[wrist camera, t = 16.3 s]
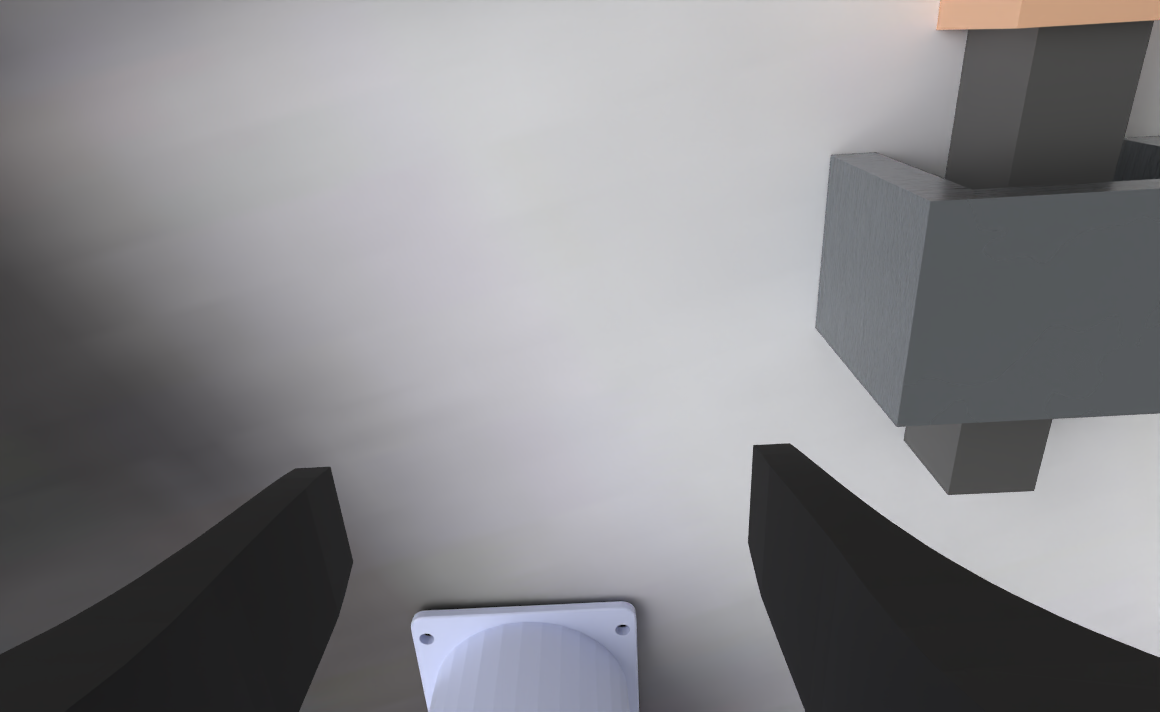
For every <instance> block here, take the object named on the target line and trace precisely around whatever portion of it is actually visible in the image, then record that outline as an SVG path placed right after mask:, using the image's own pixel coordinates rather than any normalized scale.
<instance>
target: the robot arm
mask: <svg viewBox="0 0 1160 712" xmlns="http://www.w3.org/2000/svg"><path fill="white" fill-rule="evenodd" d="M748 544H749V549H750V553H751V557H752V561H753V566H754V570H755V574H756V578H757V582H758V586H759V590H760V594H761V597H762V600H763V602H764V605H765V608H766V611H767V613H768V616H769V618H770V621H771V624H772V626H773V629H774V632H775V634H776V637H777V639H778V642H779V645H780V647H781V650H782V652H783V655H784V657H785V660H786V663H787V665H788V668H789V670H790V673H791V675H792V678H793V681H794V683H795V686H796V688H797V691H798V694H799V696H800V699H801V701H802V704H803V706H804V709H805V712H1160V657H1157V656H1154V655H1152V654H1149V653H1146V652H1144V651H1141V650H1139V649H1136V648H1134V647H1131V646H1129V645H1126V644H1124V643H1121V642H1119V641H1116V640H1114V639H1111V638H1109V637H1106V636H1104V635H1101V634H1099V633H1096V632H1094V631H1092V630H1089V629H1087V628H1085V627H1082V626H1080V625H1078V624H1076V623H1073V622H1071V621H1069V620H1066V619H1064V618H1062V617H1060V616H1057V615H1055V614H1053V613H1051V612H1049V611H1047V610H1045V609H1043V608H1041V607H1039V606H1036V605H1034V604H1032V603H1030V602H1028V601H1026V600H1024V599H1022V598H1020V597H1018V596H1016V595H1014V594H1011V593H1010V592H1008V591H1006V590H1004V589H1002V588H1000V587H998V586H996V585H994V584H992V583H990V582H988V581H987V580H985V579H983V578H981V577H979V576H978V575H976V574H974V573H972V572H971V571H969V570H967V569H965V568H964V567H962V566H960V565H958V564H957V563H955V562H953V561H951V560H950V559H948V558H946V557H944V556H943V555H941V554H940V553H938V552H936V551H935V550H933V549H931V548H930V547H928V546H927V545H925V544H924V543H922V542H921V541H919V540H918V539H916V538H915V537H913V536H912V535H910V534H909V533H907V532H906V531H904V530H903V529H901V528H900V527H898V526H897V525H895V524H894V523H892V522H891V521H890V520H888V519H887V518H885V517H884V516H883V515H881V514H880V513H878V512H877V511H876V510H874V509H873V508H872V507H870V506H869V505H867V504H866V503H865V502H863V501H862V500H861V499H860V498H858V497H857V496H856V495H854V494H853V493H852V492H850V491H849V490H848V489H847V488H845V487H844V486H843V485H841V484H840V483H839V482H838V481H836V480H835V479H834V478H833V477H831V476H830V475H829V474H828V473H826V472H825V471H824V470H823V469H821V468H820V467H819V466H818V465H817V464H815V463H814V462H813V461H812V460H810V459H809V458H808V457H807V456H805V455H804V454H803V453H802V452H800V451H799V450H798V449H797V448H795V447H794V446H792V445H791V444H790V443H789V444H769V445H753V461H752V480H751V498H750V517H749V535H748ZM352 564H353V559H352V555H351V551H350V547H349V542H348V538H347V534H346V530H345V526H344V522H343V517H342V513H341V509H340V505H339V501H338V497H337V492H336V488H335V484H334V480H333V476H332V472H331V467H317V468H297V469H294V470H292V471H290V472H289V473H287V474H286V475H284V476H282V477H281V478H280V479H278V480H277V481H275V482H274V483H272V484H271V485H270V486H268V487H267V488H265V489H264V490H263V491H261V492H260V493H258V494H257V495H256V496H254V497H253V498H252V499H250V500H249V501H248V502H246V503H245V504H244V505H242V506H241V507H239V508H238V509H237V510H235V511H234V512H233V513H231V514H230V515H229V516H227V517H226V518H224V519H223V520H222V521H220V522H219V523H218V524H216V525H215V526H213V527H212V528H211V529H209V530H208V531H207V532H205V533H204V534H203V535H201V536H200V537H198V538H197V539H196V540H194V541H193V542H191V543H190V544H188V545H187V546H185V547H184V548H182V549H181V550H179V551H178V552H176V553H175V554H173V555H172V556H170V557H169V558H167V559H166V560H164V561H163V562H162V563H160V564H159V565H157V566H156V567H154V568H153V569H151V570H150V571H148V572H147V573H145V574H144V575H142V576H141V577H139V578H138V579H136V580H135V581H133V582H131V583H130V584H128V585H127V586H125V587H123V588H122V589H120V590H118V591H117V592H115V593H114V594H112V595H110V596H109V597H107V598H105V599H103V600H102V601H100V602H98V603H97V604H95V605H93V606H91V607H90V608H88V609H86V610H84V611H83V612H81V613H79V614H77V615H76V616H74V617H72V618H70V619H69V620H67V621H65V622H63V623H61V624H59V625H58V626H56V627H54V628H52V629H50V630H48V631H46V632H44V633H42V634H40V635H38V636H36V637H34V638H32V639H30V640H28V641H26V642H24V643H22V644H20V645H18V646H16V647H14V648H12V649H10V650H8V651H6V652H4V653H2V654H0V712H299V710H300V708H301V705H302V703H303V701H304V698H305V696H306V693H307V691H308V689H309V686H310V684H311V682H312V679H313V677H314V675H315V672H316V670H317V668H318V665H319V663H320V661H321V658H322V656H323V653H324V651H325V648H326V646H327V644H328V641H329V639H330V636H331V634H332V632H333V629H334V627H335V624H336V622H337V619H338V617H339V613H340V610H341V606H342V603H343V599H344V596H345V592H346V588H347V584H348V580H349V576H350V572H351V568H352ZM622 624H623V625H627V626H625V627H618V625H622ZM411 631H412V635H413V640H414V645H415V650H416V655H417V660H418V664H419V669H420V674H421V679H422V684H423V689H424V693H425V698H426V703H427V708H428V712H639V691H638V657H637V624H636V611H635V607H634V606H633V605H632V604H630V603H628V602H623V601H618V602H596V603H575V604H554V605H533V606H511V607H490V608H469V609H448V610H426V611H420V612H418V613H416V614H415V615H414V617H413V620H412V623H411ZM425 634H430V635H432V636H426V635H425Z"/></svg>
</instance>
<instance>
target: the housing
mask: <svg viewBox="0 0 1160 712" xmlns="http://www.w3.org/2000/svg"><path fill="white" fill-rule="evenodd" d="M815 328H816V329H817V331H818V332H819V333H820V334H821V335H822V337H823V338H824V339H825V340H826V342H827V343H828V344H829V345H830V346H831V348H832V349H833V350H834V351H835V352H836V354H837V355H838V356H839V357H840V359H841V360H842V361H843V362H844V363H845V365H846V366H847V367H848V368H849V369H850V371H851V372H852V373H853V374H854V376H855V377H856V378H857V379H858V380H859V382H860V383H861V384H862V385H863V386H864V388H865V389H866V390H867V391H868V392H869V394H870V395H871V396H872V397H873V399H874V400H875V401H876V402H877V403H878V405H879V406H880V407H881V408H882V409H883V411H884V412H885V413H886V414H887V416H888V417H889V418H890V419H891V420H892V422H893V423H894V424H895V425H896V426H897V427H902V426H921V425H941V424H960V423H980V422H1000V421H1019V420H1039V419H1058V418H1078V417H1097V416H1117V415H1137V414H1156V413H1160V136H1152V137H1135V138H1124V140H1123V144H1122V148H1121V152H1120V156H1119V160H1118V163H1117V167H1116V171H1115V175H1114V179H1113V182H1096V183H1079V184H1061V185H1043V186H1026V187H1008V188H991V189H973V190H972V189H969V188H967V187H964V186H962V185H959V184H956V183H954V182H951V181H949V180H946V179H943V178H941V177H938V176H936V175H933V174H930V173H928V172H925V171H923V170H920V169H918V168H915V167H912V166H910V165H907V164H905V163H902V162H899V161H897V160H894V159H892V158H889V157H886V156H884V155H881V154H879V153H859V154H842V155H831V159H830V171H829V182H828V193H827V204H826V215H825V226H824V238H823V249H822V260H821V271H820V282H819V294H818V305H817V316H816V327H815Z"/></svg>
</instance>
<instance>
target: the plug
mask: <svg viewBox="0 0 1160 712" xmlns="http://www.w3.org/2000/svg"><path fill="white" fill-rule="evenodd" d="M1154 20H1160V0H940V7H939V15H938V22H937V29H936V30H961V29H968V35H967V41H966V47H965V54H964V60H963V66H962V73H961V79H960V86H959V92H958V98H957V105H956V111H955V117H954V124H953V130H952V136H951V143H950V149H949V156H948V162H947V168H946V175H945V179H946V180H949V181H951V182H954V183H956V184H959V185H962V186H964V187H967V188H969V189H972V190H973V189H991V188H1008V187H1026V186H1043V185H1061V184H1079V183H1096V182H1113V179H1114V175H1115V171H1116V167H1117V163H1118V160H1119V156H1120V152H1121V148H1122V144H1123V140H1124V136H1125V132H1126V128H1127V124H1128V120H1129V116H1130V112H1131V109H1132V105H1133V101H1134V97H1135V93H1136V89H1137V85H1138V81H1139V77H1140V73H1141V69H1142V65H1143V62H1144V58H1145V54H1146V50H1147V46H1148V42H1149V38H1150V34H1151V30H1152V26H1153V22H1154ZM1051 422H1052V419H1039V420H1019V421H1000V422H980V423H960V424H941V425H921V426H906V429H905V436H904V441H905V442H906V443H907V445H908V446H909V447H910V448H911V450H912V451H913V452H914V453H915V455H916V456H917V457H918V458H919V460H920V461H921V462H922V463H923V465H924V466H925V467H926V468H927V470H928V471H929V472H930V473H931V474H932V476H933V477H934V478H935V479H936V481H937V482H938V483H939V484H940V486H941V487H942V488H943V489H944V491H945V492H946V493H947V494H948V495H957V494H979V493H1000V492H1022V491H1034V489H1035V485H1036V481H1037V477H1038V473H1039V469H1040V465H1041V461H1042V458H1043V454H1044V450H1045V446H1046V442H1047V438H1048V434H1049V430H1050V426H1051Z"/></svg>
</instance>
